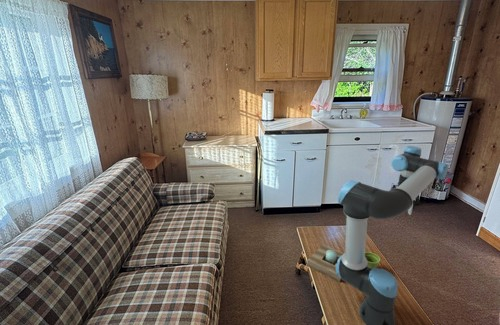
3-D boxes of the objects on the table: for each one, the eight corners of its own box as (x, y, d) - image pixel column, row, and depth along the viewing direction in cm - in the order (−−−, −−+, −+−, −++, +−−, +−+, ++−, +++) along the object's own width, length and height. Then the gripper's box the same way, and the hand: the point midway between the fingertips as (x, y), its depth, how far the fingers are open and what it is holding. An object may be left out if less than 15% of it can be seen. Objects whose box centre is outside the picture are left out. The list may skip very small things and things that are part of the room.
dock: (339, 282, 144) (340, 276, 143) (306, 265, 157) (307, 260, 155) (353, 262, 159) (354, 257, 157) (322, 249, 171) (322, 244, 170)
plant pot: (379, 276, 148) (382, 263, 145) (361, 274, 150) (363, 261, 147) (375, 265, 156) (377, 253, 154) (358, 263, 158) (360, 251, 155)
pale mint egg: (333, 265, 153) (334, 257, 151) (323, 260, 156) (324, 253, 155) (337, 259, 157) (338, 252, 155) (328, 255, 161) (328, 248, 159)
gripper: (426, 173, 142) (418, 211, 150) (384, 171, 146) (378, 208, 153) (433, 179, 135) (424, 218, 143) (388, 176, 139) (382, 214, 146)
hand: (400, 213), depth 148 cm, fingers open, 8 cm apart
